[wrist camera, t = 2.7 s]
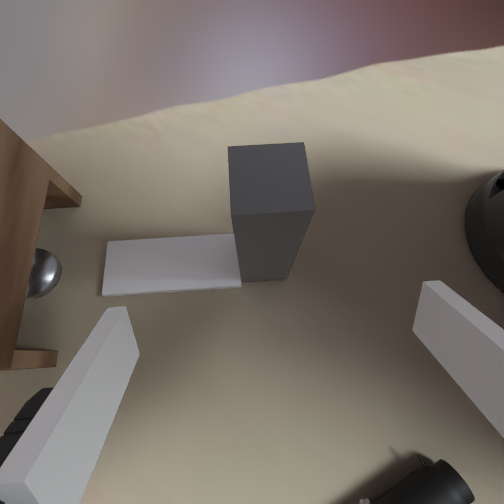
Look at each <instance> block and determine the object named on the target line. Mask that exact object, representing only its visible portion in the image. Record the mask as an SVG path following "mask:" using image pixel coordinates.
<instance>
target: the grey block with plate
mask: <svg viewBox="0 0 504 504" xmlns="http://www.w3.org/2000/svg"><path fill="white" fill-rule="evenodd" d="M228 162H229V182H230V203H231V218H232V224H233V231H234V233H230V234H214V235H198V236H183V237H167V238H151V239H136V240H120V241H108V243H107V252H106V261H105V269H104V278H103V287H102V296H105V297H113V296H128V295H143V294H157V293H172V292H187V291H201V290H216V289H231V288H242V286H241V282H253V281H268V280H283V279H286V277H287V275H288V272H289V270H290V268H291V265H292V263H293V261H294V258H295V256H296V254H297V251H298V249H299V246H300V244H301V242H302V239H303V237H304V235H305V232H306V230H307V228H308V225H309V223H310V221H311V218H312V216H313V214H314V211H315V207H314V201H313V194H312V188H311V182H310V176H309V170H308V164H307V158H306V151H305V145H304V142H300V143H283V144H266V145H248V146H231V147H228Z"/></svg>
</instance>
